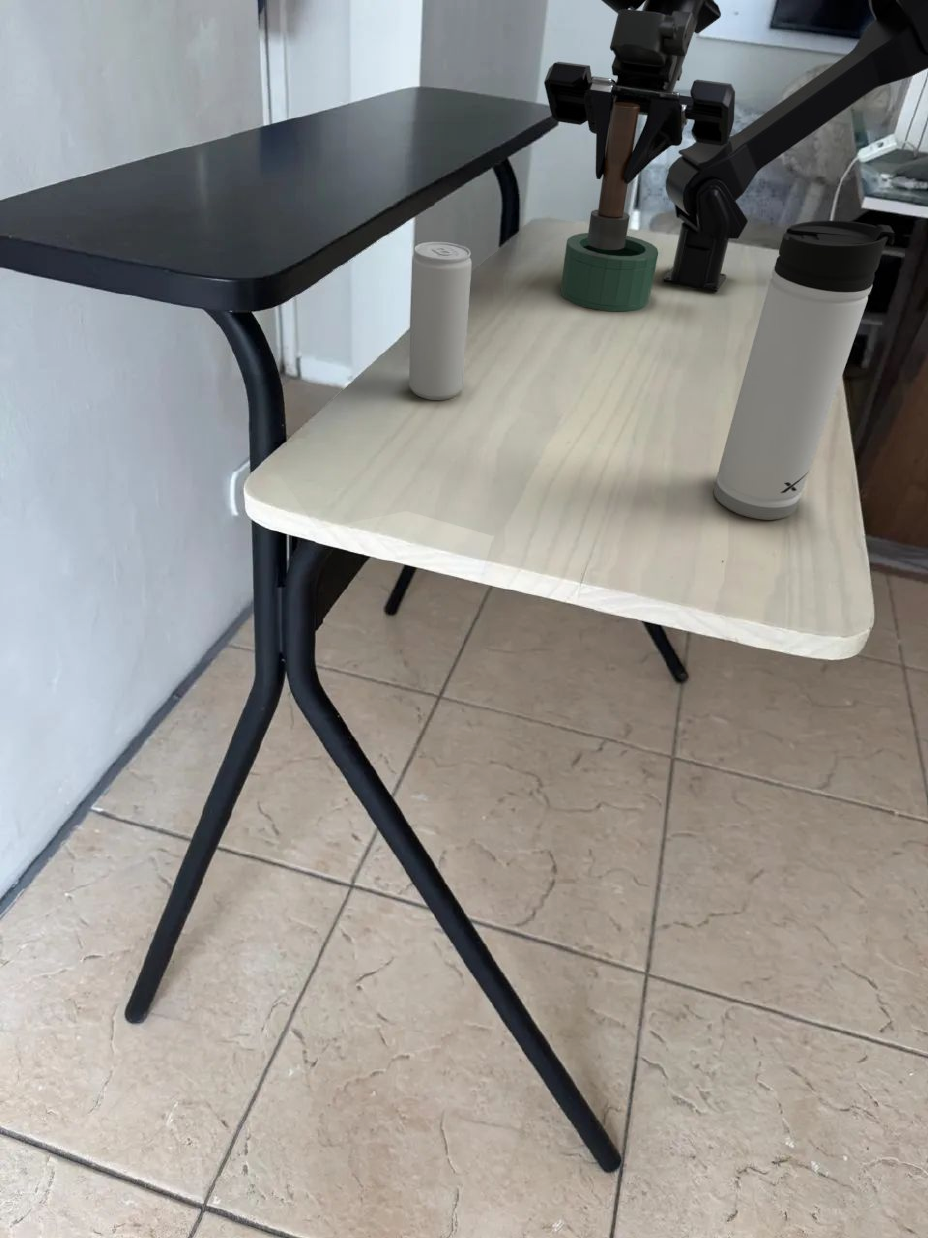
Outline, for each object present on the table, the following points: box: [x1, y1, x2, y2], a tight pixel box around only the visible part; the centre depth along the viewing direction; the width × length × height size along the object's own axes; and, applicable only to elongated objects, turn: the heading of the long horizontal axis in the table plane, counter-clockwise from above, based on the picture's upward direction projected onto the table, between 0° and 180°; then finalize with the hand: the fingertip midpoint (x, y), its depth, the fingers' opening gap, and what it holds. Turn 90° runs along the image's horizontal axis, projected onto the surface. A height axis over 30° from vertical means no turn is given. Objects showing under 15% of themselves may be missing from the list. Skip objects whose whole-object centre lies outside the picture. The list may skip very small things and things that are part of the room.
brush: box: [587, 102, 640, 250], centre depth 93 cm, size 4×4×13 cm
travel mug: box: [712, 220, 896, 521], centre depth 64 cm, size 6×7×20 cm
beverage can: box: [408, 241, 473, 401], centre depth 78 cm, size 5×5×12 cm
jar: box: [560, 232, 659, 312], centre depth 103 cm, size 10×10×6 cm
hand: (611, 178), depth 92 cm, fingers closed on brush, 2 cm apart
